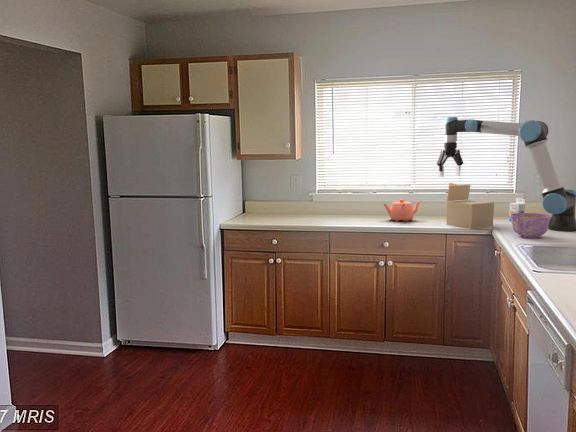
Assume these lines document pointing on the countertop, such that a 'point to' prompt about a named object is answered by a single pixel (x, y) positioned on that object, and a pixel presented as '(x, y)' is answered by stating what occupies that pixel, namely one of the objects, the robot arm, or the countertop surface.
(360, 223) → the countertop surface
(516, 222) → the purple speckled bowl
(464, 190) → the flap
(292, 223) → the countertop surface
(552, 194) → the robot arm
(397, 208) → the teapot
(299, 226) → the countertop surface
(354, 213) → the countertop surface
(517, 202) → the ink box
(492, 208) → the carton
